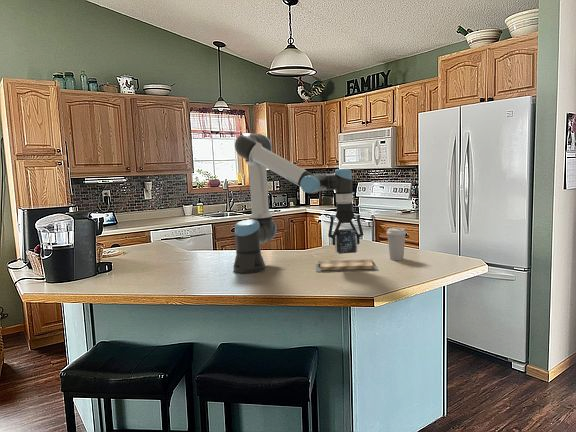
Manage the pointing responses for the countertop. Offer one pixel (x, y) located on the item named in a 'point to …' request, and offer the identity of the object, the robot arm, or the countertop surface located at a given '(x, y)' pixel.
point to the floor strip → (345, 261)
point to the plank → (347, 266)
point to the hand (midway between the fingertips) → (346, 251)
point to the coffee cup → (396, 243)
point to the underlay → (318, 269)
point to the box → (346, 241)
